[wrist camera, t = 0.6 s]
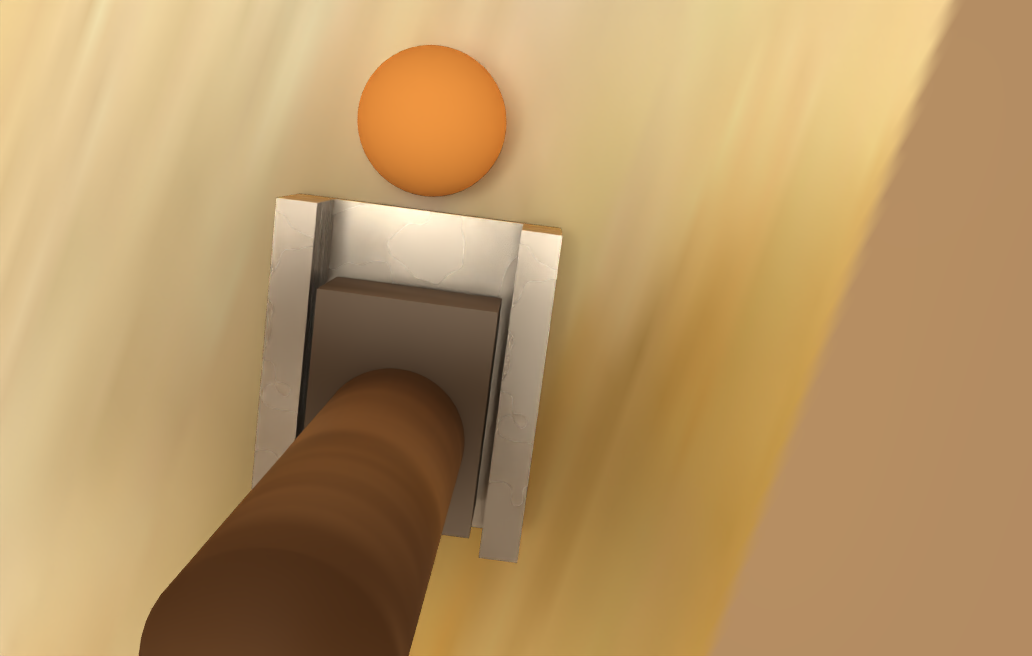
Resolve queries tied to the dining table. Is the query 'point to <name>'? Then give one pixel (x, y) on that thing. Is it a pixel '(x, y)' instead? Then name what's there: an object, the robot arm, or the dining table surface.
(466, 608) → the dining table surface
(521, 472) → the track
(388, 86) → the ball
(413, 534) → the slider
